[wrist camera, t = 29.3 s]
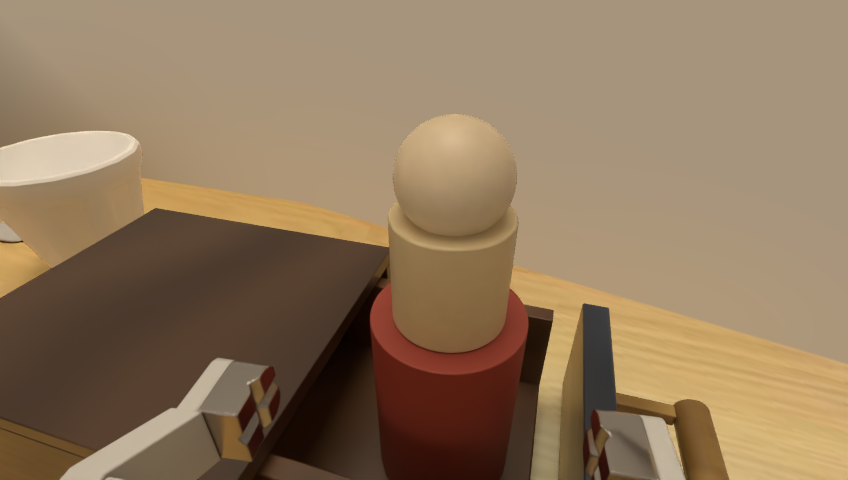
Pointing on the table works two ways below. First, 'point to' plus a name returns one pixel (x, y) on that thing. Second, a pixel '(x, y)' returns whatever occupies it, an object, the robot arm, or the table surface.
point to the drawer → (582, 393)
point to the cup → (70, 190)
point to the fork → (8, 233)
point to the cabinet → (168, 331)
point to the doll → (449, 306)
